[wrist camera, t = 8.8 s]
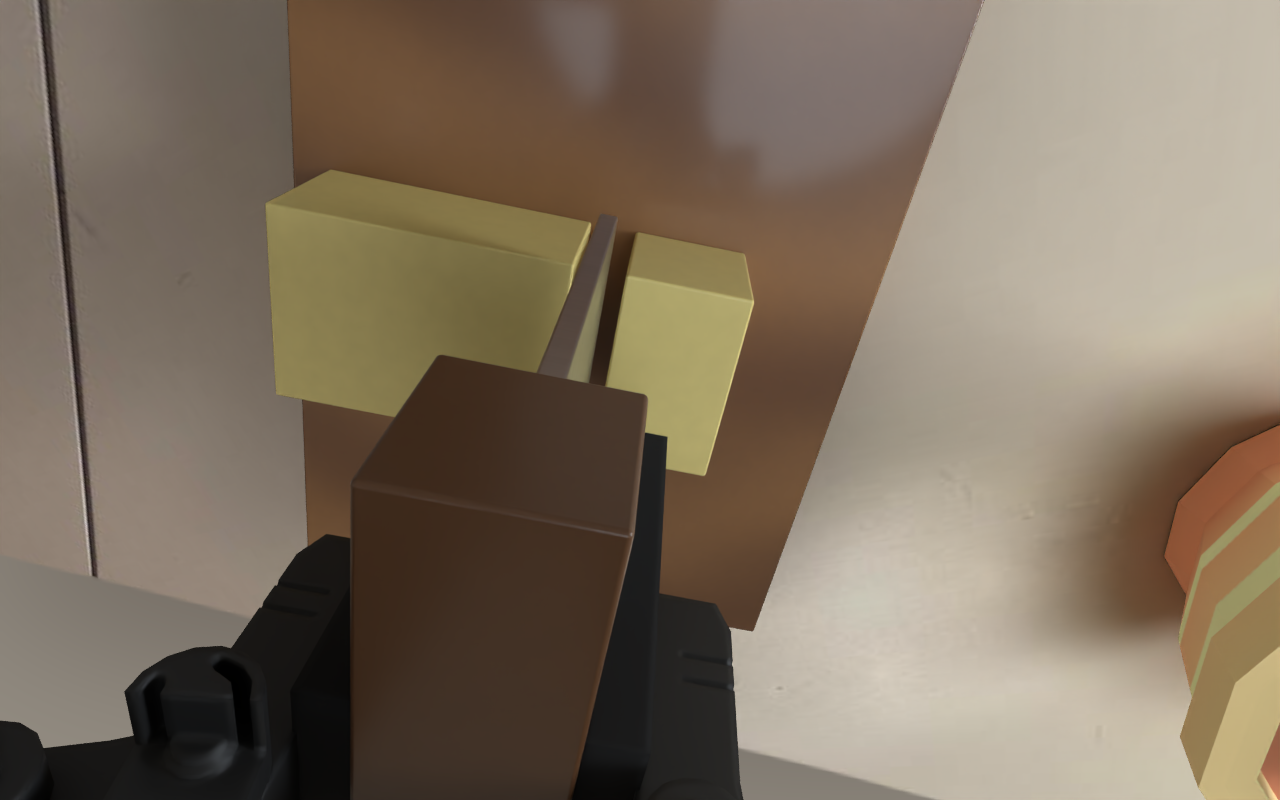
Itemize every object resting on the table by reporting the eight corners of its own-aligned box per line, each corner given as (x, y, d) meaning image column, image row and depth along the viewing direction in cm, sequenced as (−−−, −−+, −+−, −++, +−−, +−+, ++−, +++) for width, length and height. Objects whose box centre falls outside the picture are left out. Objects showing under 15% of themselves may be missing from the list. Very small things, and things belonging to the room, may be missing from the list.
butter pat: (635, 230, 20) (625, 275, 17) (745, 253, 20) (755, 301, 17) (605, 391, 23) (592, 456, 19) (703, 410, 23) (705, 477, 20)
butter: (329, 168, 20) (263, 202, 17) (591, 221, 20) (573, 264, 17) (332, 338, 22) (274, 395, 19) (565, 384, 22) (546, 447, 19)
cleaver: (557, 180, 16) (346, 480, 6) (668, 202, 16) (635, 535, 6) (512, 515, 20) (348, 1000, 10) (600, 531, 20) (518, 1027, 11)
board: (308, -235, 17) (275, -253, 16) (993, -82, 18) (1017, -87, 16) (325, 523, 28) (306, 550, 26) (750, 602, 28) (753, 632, 27)
